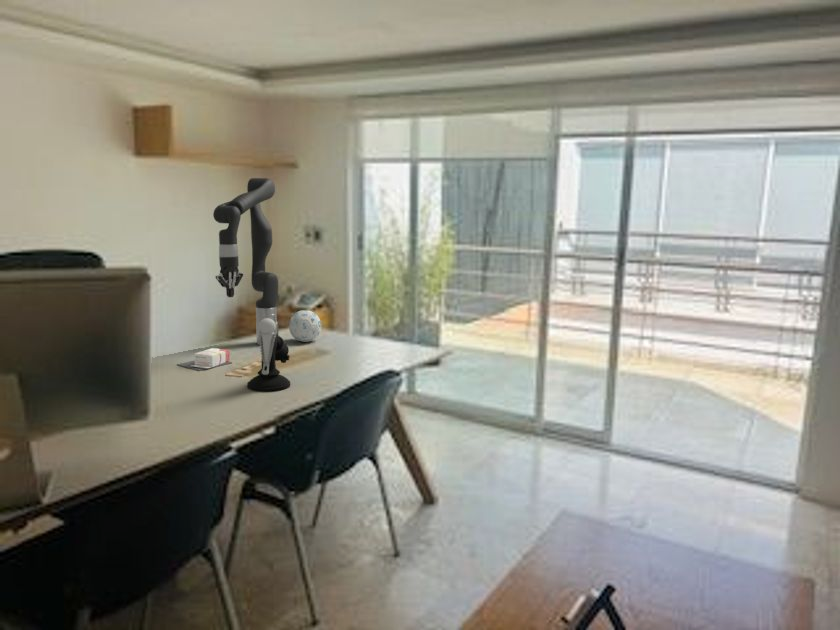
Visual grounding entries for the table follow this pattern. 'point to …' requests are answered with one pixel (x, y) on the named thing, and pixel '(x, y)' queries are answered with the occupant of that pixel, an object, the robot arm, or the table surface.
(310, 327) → the puzzle ball
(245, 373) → the beech turner
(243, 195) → the robot arm
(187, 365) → the rubber mat
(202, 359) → the ink cartridge box
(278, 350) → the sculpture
